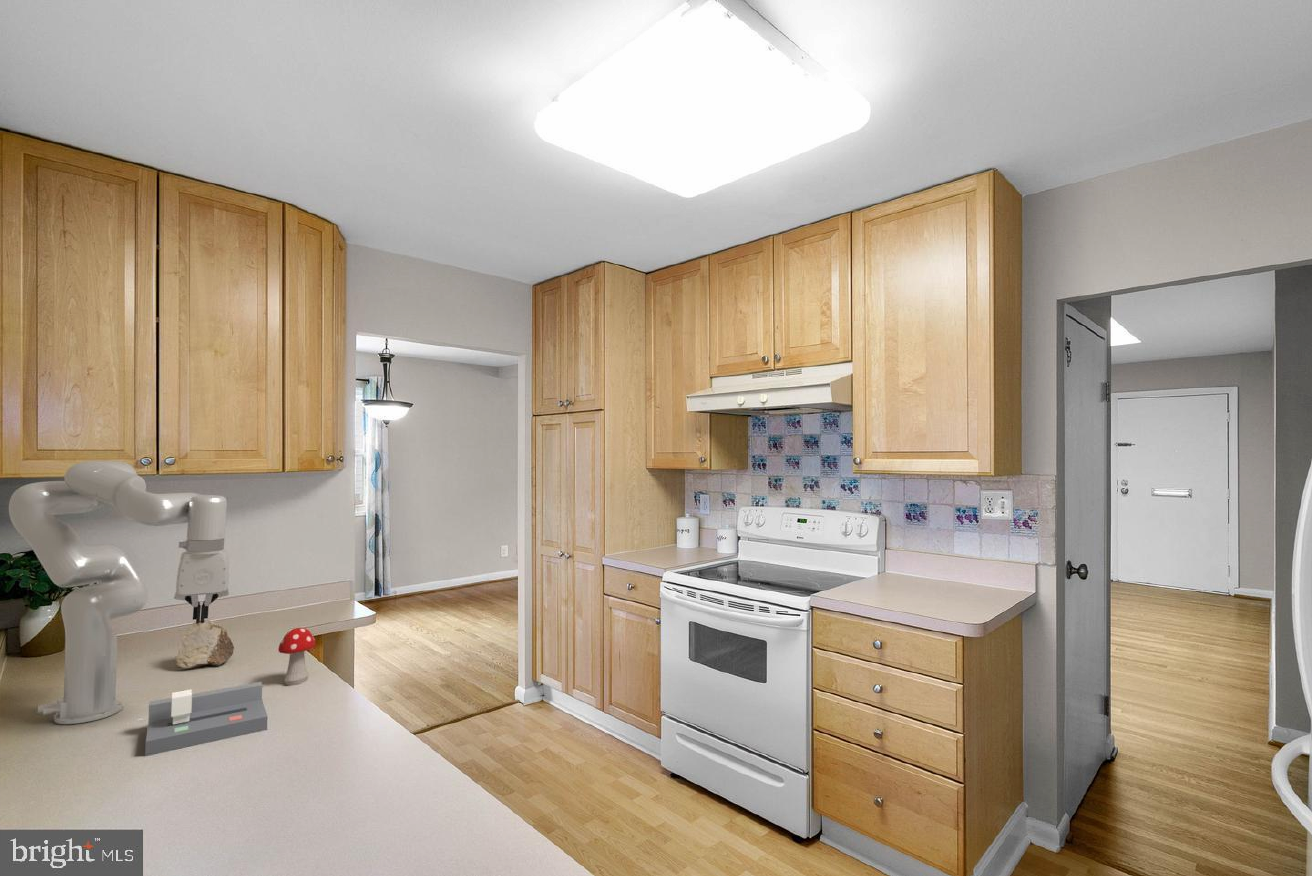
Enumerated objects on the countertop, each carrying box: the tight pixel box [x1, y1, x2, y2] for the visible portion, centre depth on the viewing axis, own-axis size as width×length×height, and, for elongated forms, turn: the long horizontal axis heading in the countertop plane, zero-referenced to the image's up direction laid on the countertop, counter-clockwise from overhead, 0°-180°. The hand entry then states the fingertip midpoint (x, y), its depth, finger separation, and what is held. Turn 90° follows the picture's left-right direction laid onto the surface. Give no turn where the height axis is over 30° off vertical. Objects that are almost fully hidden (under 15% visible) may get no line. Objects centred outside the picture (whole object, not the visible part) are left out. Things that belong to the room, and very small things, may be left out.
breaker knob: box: [171, 689, 193, 724], centre depth 143 cm, size 4×4×6 cm
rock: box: [174, 619, 235, 670], centre depth 190 cm, size 15×8×15 cm
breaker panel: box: [144, 681, 268, 757], centre depth 146 cm, size 22×16×6 cm
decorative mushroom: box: [277, 627, 317, 686], centre depth 177 cm, size 10×9×15 cm
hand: (200, 621), depth 152 cm, fingers closed
